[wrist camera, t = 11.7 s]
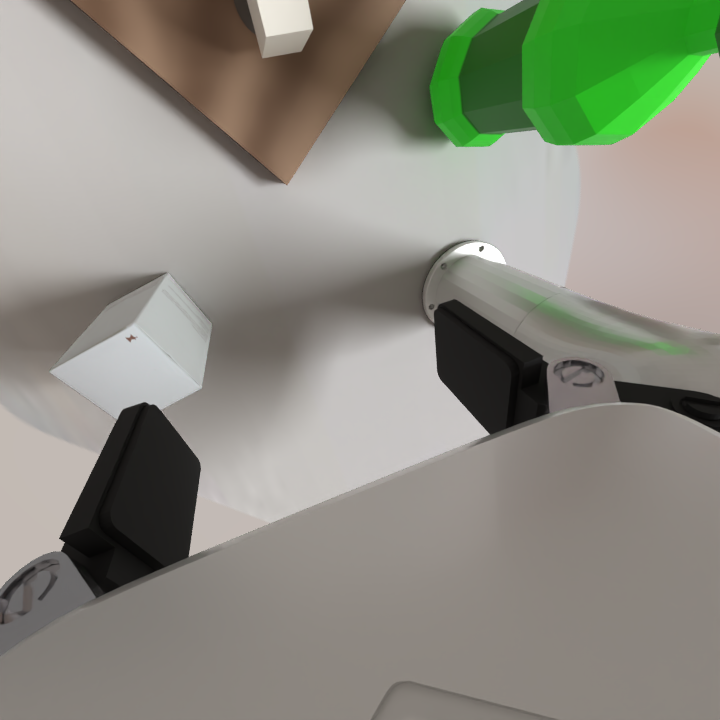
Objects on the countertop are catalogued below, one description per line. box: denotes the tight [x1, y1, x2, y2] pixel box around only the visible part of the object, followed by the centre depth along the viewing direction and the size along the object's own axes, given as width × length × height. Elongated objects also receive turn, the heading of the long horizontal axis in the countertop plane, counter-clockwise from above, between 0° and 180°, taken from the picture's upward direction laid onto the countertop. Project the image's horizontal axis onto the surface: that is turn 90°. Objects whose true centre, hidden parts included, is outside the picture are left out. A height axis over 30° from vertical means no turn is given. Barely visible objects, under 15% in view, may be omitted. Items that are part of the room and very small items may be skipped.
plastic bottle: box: [429, 0, 720, 147], centre depth 22 cm, size 10×10×25 cm
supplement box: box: [49, 273, 212, 420], centre depth 30 cm, size 7×7×13 cm
